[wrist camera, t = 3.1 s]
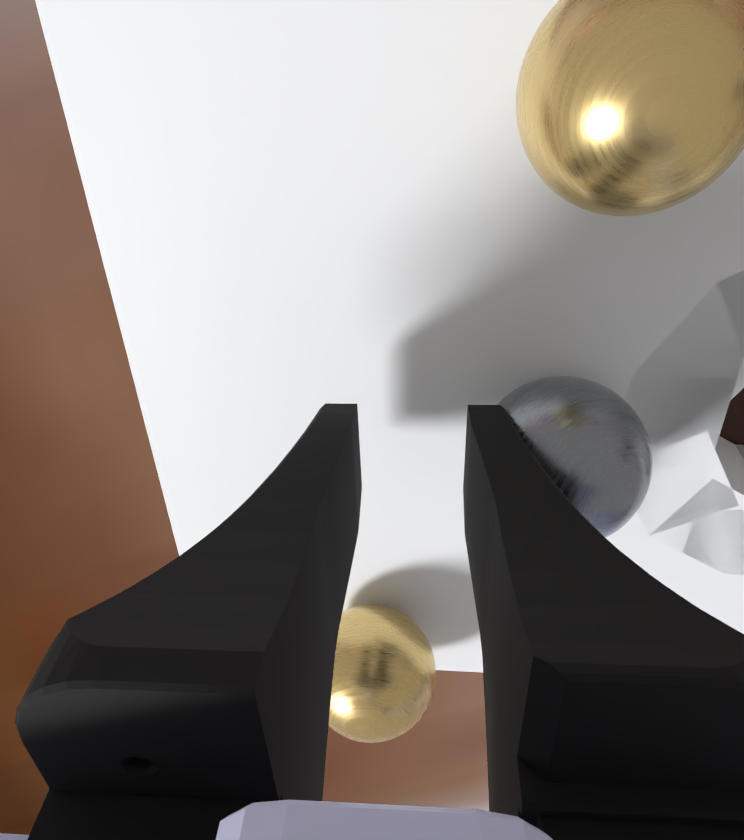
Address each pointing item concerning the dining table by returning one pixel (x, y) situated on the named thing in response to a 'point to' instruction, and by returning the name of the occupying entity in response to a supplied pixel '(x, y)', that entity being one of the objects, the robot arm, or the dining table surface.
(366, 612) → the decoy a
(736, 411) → the dining table surface
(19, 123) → the dining table surface
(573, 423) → the ball
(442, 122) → the plate
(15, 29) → the dining table surface
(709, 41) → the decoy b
